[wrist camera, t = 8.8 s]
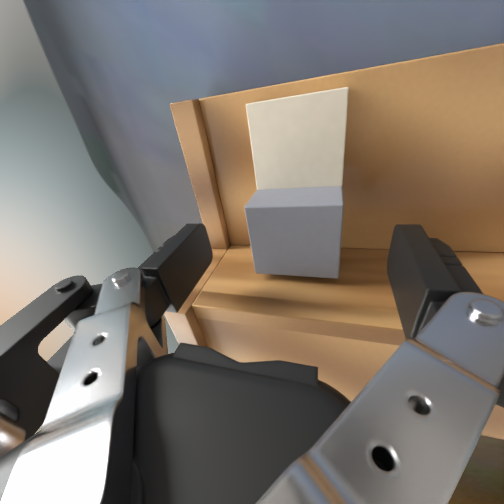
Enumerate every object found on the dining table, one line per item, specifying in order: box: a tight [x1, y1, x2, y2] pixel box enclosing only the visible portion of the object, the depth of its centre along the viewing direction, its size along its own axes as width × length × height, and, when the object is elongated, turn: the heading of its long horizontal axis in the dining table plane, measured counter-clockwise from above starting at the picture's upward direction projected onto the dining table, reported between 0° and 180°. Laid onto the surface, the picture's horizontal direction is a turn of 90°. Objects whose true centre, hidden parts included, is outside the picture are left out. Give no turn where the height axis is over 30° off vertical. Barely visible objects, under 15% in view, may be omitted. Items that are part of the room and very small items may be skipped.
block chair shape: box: [244, 87, 349, 279], centre depth 12 cm, size 8×4×4 cm, turn 9°
